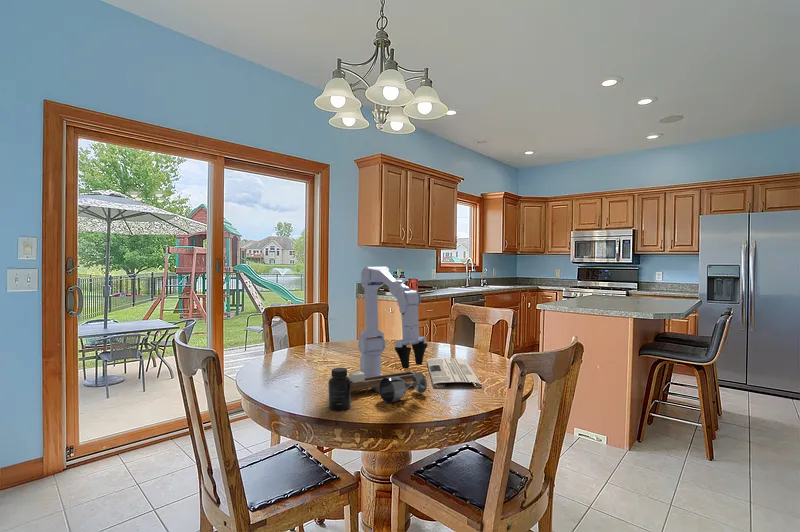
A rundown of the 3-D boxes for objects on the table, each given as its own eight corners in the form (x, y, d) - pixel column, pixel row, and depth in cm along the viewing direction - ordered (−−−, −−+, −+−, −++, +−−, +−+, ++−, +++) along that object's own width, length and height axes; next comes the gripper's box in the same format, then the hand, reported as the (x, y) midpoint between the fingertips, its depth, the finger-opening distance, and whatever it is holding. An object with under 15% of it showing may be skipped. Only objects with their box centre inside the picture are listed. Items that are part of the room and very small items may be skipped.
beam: (340, 392, 140) (340, 380, 140) (410, 381, 153) (410, 370, 153) (346, 397, 135) (346, 385, 135) (418, 385, 148) (418, 374, 148)
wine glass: (424, 399, 138) (391, 408, 128) (409, 386, 143) (376, 394, 133) (430, 378, 136) (396, 386, 126) (415, 366, 142) (382, 373, 132)
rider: (349, 383, 141) (349, 372, 141) (359, 381, 143) (359, 370, 143) (353, 386, 137) (353, 375, 137) (364, 384, 139) (364, 373, 139)
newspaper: (426, 364, 182) (426, 357, 182) (469, 363, 182) (469, 357, 182) (433, 389, 146) (433, 381, 146) (486, 389, 146) (486, 381, 146)
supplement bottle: (329, 404, 129) (329, 366, 129) (351, 403, 129) (350, 366, 129) (327, 412, 122) (327, 372, 122) (350, 411, 123) (350, 371, 122)
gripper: (406, 327, 129) (409, 370, 128) (431, 324, 140) (434, 363, 139) (389, 327, 133) (391, 369, 132) (415, 324, 145) (417, 362, 143)
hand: (412, 366), depth 136 cm, fingers open, 7 cm apart
